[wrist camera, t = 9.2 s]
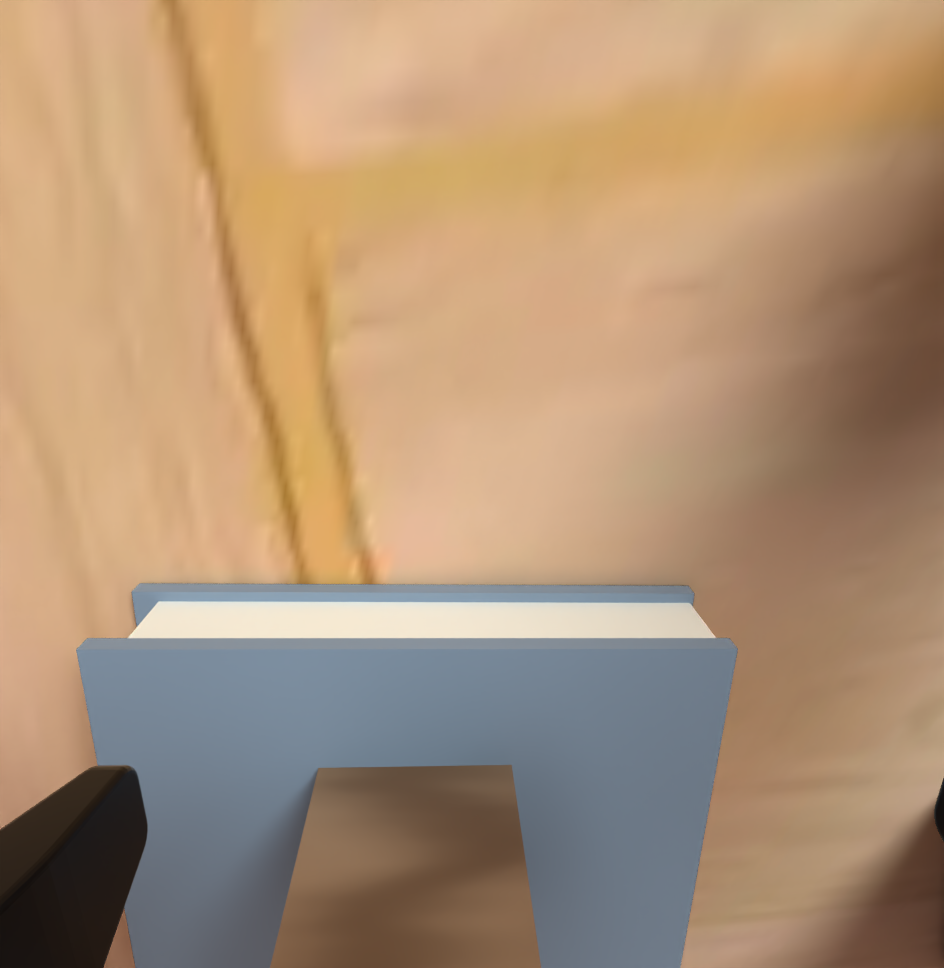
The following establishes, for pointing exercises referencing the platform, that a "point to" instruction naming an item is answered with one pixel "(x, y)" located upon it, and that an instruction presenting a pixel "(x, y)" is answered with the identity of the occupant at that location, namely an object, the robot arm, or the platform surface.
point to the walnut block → (410, 872)
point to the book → (414, 746)
